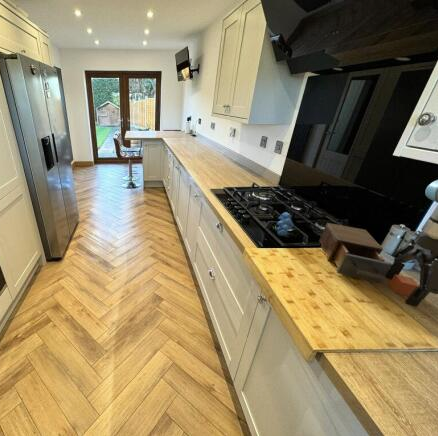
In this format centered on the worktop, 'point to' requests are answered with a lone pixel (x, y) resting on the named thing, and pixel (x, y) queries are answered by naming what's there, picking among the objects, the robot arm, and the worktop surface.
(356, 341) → the worktop surface
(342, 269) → the drawer
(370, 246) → the cabinet
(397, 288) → the block
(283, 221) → the grapes
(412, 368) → the worktop surface
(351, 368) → the worktop surface
